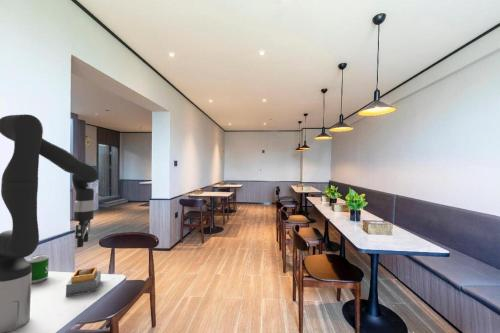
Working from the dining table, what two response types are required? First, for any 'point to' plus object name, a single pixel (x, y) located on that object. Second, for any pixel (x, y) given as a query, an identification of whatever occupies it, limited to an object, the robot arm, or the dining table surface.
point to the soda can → (39, 267)
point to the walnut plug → (85, 272)
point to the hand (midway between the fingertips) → (82, 244)
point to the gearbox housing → (83, 282)
